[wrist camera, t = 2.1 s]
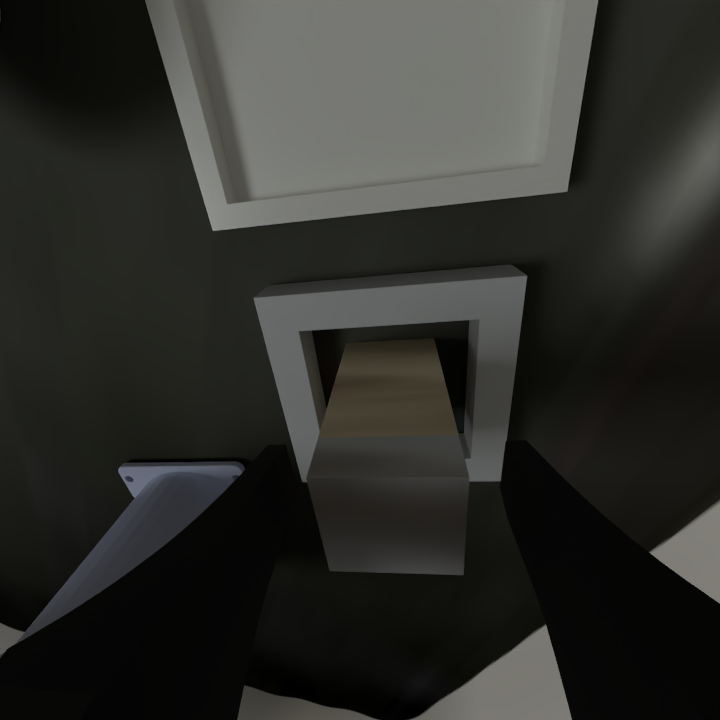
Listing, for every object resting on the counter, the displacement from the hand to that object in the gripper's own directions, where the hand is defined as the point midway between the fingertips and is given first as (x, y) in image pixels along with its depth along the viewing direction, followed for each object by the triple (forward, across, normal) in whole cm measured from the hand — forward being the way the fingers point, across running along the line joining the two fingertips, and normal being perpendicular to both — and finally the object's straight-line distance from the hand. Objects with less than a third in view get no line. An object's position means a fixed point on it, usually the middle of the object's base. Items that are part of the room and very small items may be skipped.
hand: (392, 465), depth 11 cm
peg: (+6, 0, 0) cm, 6 cm away
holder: (+6, 0, 0) cm, 6 cm away
